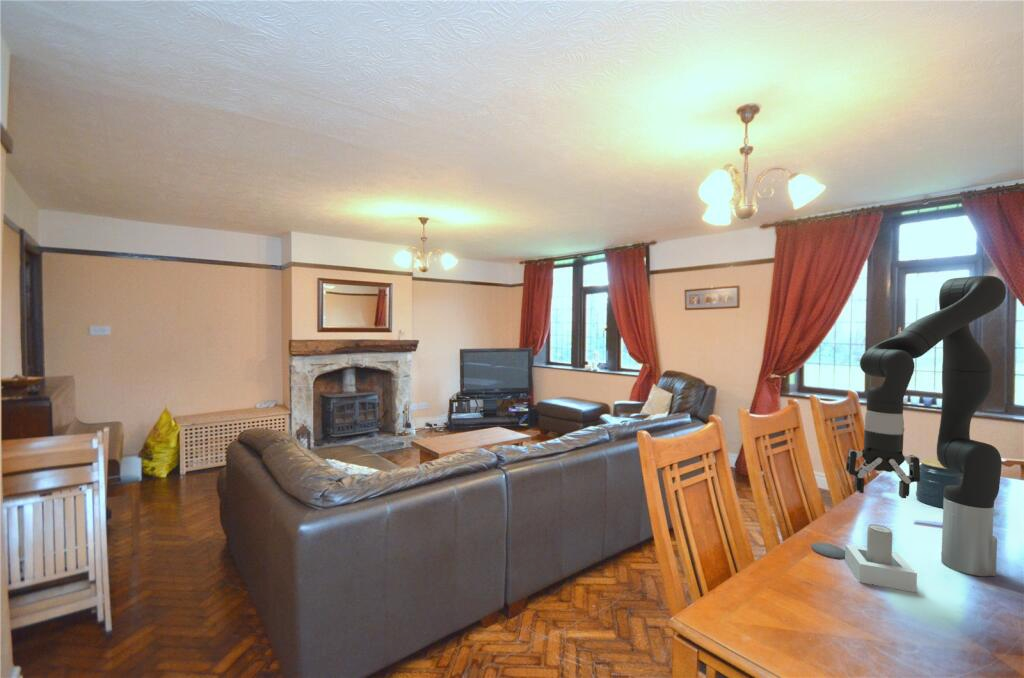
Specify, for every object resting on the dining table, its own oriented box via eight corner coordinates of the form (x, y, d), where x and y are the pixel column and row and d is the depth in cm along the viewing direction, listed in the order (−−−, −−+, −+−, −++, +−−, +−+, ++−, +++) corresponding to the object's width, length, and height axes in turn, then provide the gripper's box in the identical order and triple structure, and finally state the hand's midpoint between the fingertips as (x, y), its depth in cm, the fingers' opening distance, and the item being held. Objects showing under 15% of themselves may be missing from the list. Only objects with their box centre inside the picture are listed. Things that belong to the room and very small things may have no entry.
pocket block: (896, 569, 117) (896, 552, 117) (916, 592, 106) (916, 573, 106) (844, 561, 121) (845, 544, 121) (859, 582, 110) (860, 563, 110)
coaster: (841, 547, 128) (841, 545, 128) (851, 561, 121) (851, 559, 121) (808, 542, 131) (808, 540, 131) (815, 555, 124) (815, 553, 124)
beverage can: (895, 582, 111) (897, 533, 110) (872, 579, 112) (874, 531, 111) (883, 572, 115) (885, 525, 115) (862, 569, 116) (863, 523, 116)
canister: (959, 501, 166) (961, 453, 165) (970, 513, 155) (972, 461, 154) (912, 494, 173) (913, 447, 172) (919, 505, 162) (921, 455, 161)
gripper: (912, 429, 114) (909, 494, 114) (844, 424, 119) (842, 485, 119) (927, 435, 107) (924, 504, 107) (854, 429, 112) (851, 495, 112)
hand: (881, 494), depth 113 cm, fingers open, 8 cm apart
